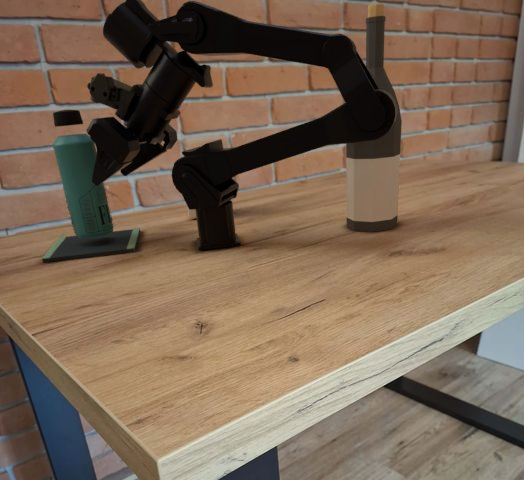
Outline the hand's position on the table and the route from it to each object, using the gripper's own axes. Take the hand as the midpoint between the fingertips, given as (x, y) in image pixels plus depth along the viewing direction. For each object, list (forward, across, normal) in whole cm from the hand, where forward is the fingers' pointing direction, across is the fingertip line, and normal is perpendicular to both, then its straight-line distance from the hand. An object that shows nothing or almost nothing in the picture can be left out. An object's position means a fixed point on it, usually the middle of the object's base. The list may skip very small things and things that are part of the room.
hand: (109, 178), depth 79 cm
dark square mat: (+11, 0, +4) cm, 12 cm away
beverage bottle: (+11, 0, +4) cm, 11 cm away
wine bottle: (-20, -9, +36) cm, 42 cm away
